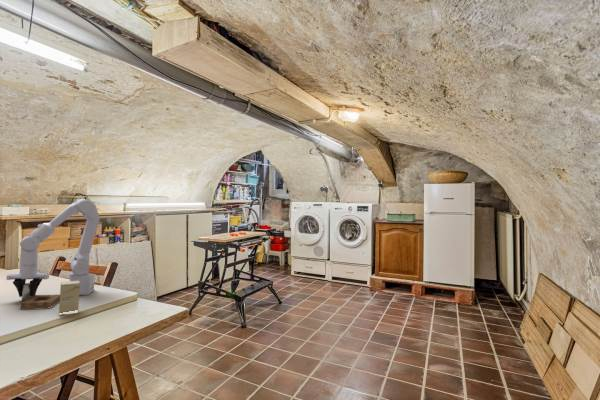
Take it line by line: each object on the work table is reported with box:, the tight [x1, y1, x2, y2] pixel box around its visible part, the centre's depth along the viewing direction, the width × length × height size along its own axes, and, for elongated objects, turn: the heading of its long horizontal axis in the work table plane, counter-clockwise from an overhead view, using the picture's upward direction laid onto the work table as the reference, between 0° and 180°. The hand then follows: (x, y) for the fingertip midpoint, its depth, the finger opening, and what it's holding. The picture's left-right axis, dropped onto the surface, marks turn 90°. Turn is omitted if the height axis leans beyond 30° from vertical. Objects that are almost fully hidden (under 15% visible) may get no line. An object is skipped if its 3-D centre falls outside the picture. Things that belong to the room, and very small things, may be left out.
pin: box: [21, 282, 31, 303], centre depth 137 cm, size 4×4×7 cm
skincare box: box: [58, 280, 80, 314], centre depth 127 cm, size 6×4×12 cm
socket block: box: [20, 294, 60, 310], centre depth 134 cm, size 10×10×2 cm
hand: (27, 296), depth 137 cm, fingers closed on pin, 4 cm apart
